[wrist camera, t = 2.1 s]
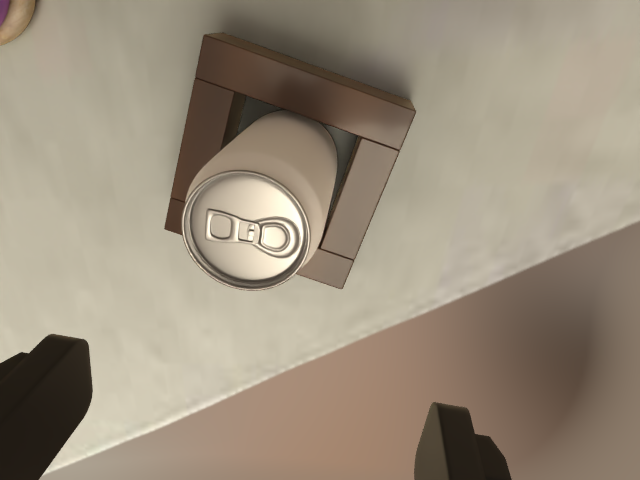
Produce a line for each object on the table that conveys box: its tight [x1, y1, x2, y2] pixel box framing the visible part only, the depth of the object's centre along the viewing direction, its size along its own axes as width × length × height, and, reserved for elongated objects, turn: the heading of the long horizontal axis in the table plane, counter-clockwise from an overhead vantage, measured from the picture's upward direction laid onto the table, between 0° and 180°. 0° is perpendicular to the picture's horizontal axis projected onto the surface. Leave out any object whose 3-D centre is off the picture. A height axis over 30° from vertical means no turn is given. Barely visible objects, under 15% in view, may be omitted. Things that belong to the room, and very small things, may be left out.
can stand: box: [165, 33, 416, 289], centre depth 30 cm, size 12×12×4 cm
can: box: [181, 110, 338, 291], centre depth 26 cm, size 6×6×12 cm
